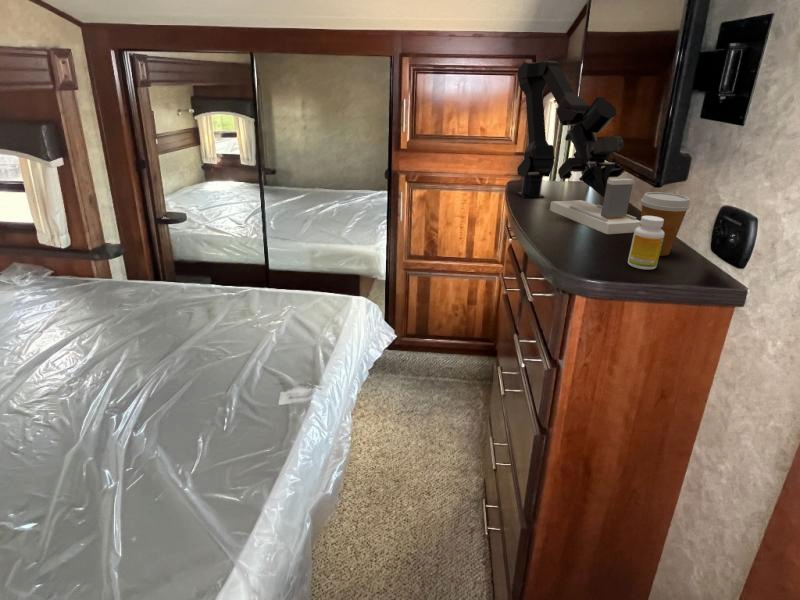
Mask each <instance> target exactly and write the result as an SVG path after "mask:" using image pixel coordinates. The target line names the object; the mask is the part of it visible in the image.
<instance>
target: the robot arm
mask: <svg viewBox="0 0 800 600" xmlns="http://www.w3.org/2000/svg"><path fill="white" fill-rule="evenodd" d="M516 73H517V78H518V84H519V85H518V86H519V88H520V89H521V91H522V92H523V94H524V95H525V103H526V105H525V106H526V107H525V108H526V119H527V120H526V121H527V132H528V134H527V135H528V145H527V147H526V149H525V151H524V152H523V155H524V157H523V160H522V161H521V162H520V164H519V165H518V167H517V168H516V169H517V175H518V176H520V177H523V178H522V187H521V191H517V194H518V195H520V196H521V197H522V198H529V199H530V198H540V199H541V198H545V195H543V194H541V191H542V185H543V178H544V177H547V178H548V177H550V176H551V172H552V170H553V167H554V165H555V152H554V151H555V148H554V145H552V144H549V143H548V142H547V138H546V137H547V135H546V125H545V124H546V123H545V107H544V97H543V96H544V95H543V94H544V90H545V88H546V87H548V88H549V91H550V93H551V95H552V96H553V98H554V100H555V102H556V104H557V109H556V114H557V116H558V121H559V122H560V124H561V125H562V126H572V128H571V129H569V130H567V134H566V135H565V138H564V140H565V141H566V142H567V141H572V144H573V147H574V151H575V152H574V153H573V157H567V159H566V160H565V161H564V162H563V163H562V164H561V165H560V167H559V168H558V170H557V173H558V177H559V179H560V180H569V179H571V177H572V175H573V174H572V172H573V173H578V172H579V173H580V174H581V176H580V177H579V178H578V179H579V181H580V182H583V183H584V184H586V185H587V186H589V187H590V188H591V189H593V190H594V191H595V192H596V193H598V195H600V196H601V197H602V198H604V196H605V191H606V186H607V180H608V179H611V178H618V177H620V176H622V174H623V173H625V172H626V171H625V170H624V169H622V168H620V167H619V166H617V165H616V164H615V157H614V158H612V159H611V160H610V161H608V162H607V161H606V160H608V159H610V158H611V155H610V154H613V153H615V152H620V150H621V149H623V148H624V145H625V144H624V139H623V138H622V136H621V135H615V136H614V137H613V136H612V137H602V138H599V139H597V136H596V133H597V134H598V133H601V132H603V130H604V129H605V128H606V126H608V125H609V123H610V122H611V121H612V120H613V119H614V118H615V117H616V116H617V109H616V107H615V106H614V105H613V104H612V103H611V102H610V101H608V100H606V99H605V97H604V96H596V98H595V99H594V100H593V102H592V104H590V105H589V104H588V102H587V101H586V100H585V99H584V98H583V97H580V96H579V95H577V94H576V93H575V92H574V90H573V88H572V87H571V85H570V83H569V81H568V79H567V78H566V76H565V74H564V72H563V71H562V69H561V64H560V62H558V61H555V60H544V61H540V62H534V61H533V62H528V61H524V62H523V63H522V64H521V65H519V66H518V68H517V72H516Z"/></svg>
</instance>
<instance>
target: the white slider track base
mask: <svg viewBox="0 0 800 600" xmlns="http://www.w3.org/2000/svg"><path fill="white" fill-rule="evenodd" d="M549 206H550V207H549V211H551V212H553V213H555V214H558V215H560V216H562V217H565V218H567V219H569V220H572V221H574V222H576V223H579V224H582V225H584V226H586V227H589V228H591V229H594V230H595V231H598V232H600V233H603V234H606V235H617V234H628V233H629V234H634V232H635V229H636V228H637V227H640V221H641V220H639V219H637V217H636V216H633V215H630V214H626V217H610V218H605V217H603V216H601V212H602V206H603V204H602V205H601V204H593V203H590V202H587V201H584V200H582V199H579V200H578V199H576V200H556V201H551V202H550V205H549Z"/></svg>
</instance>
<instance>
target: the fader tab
mask: <svg viewBox="0 0 800 600" xmlns="http://www.w3.org/2000/svg"><path fill="white" fill-rule="evenodd" d="M633 185H634V179H633V178H632V179H631V178H609V179H608V180H607V186H606V191H605V196H604V197H603V201H602V212H601V216H603V217H605V218H610V217H626V214H627V213H628V208H629V204H630V199H631V195H632V189H633Z"/></svg>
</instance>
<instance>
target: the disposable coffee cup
mask: <svg viewBox="0 0 800 600" xmlns="http://www.w3.org/2000/svg"><path fill="white" fill-rule="evenodd" d="M640 202H641V203H640V204H641V213H640V214H641V215H640V219H641V218H642V216H655V217H660V218H662V219H664V222H663V226H662V227H661V230H663V231H664V239H663V243H662V247H661V251H660V255H659V257H660V256H661V257H662V256H668V255H670V253H671V250H672V249H673V246H674V243H675V241H676V239H677V235H678V233H679V231H680V228H681V225H682V223H683V222H684V219H685V217H686V216H685V215H686V213H687V211H688V210H689V209H690V208H691V206H692V205H691V204H690V197H688V196H685V195H681V194H676V193H670V192H662V191H661V192H660V191H659V192H658V191H655V192H654V191H651V192H650V191H649V192H645V193H644V195H643V197H642V198H640ZM640 226H641V224H640Z"/></svg>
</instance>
